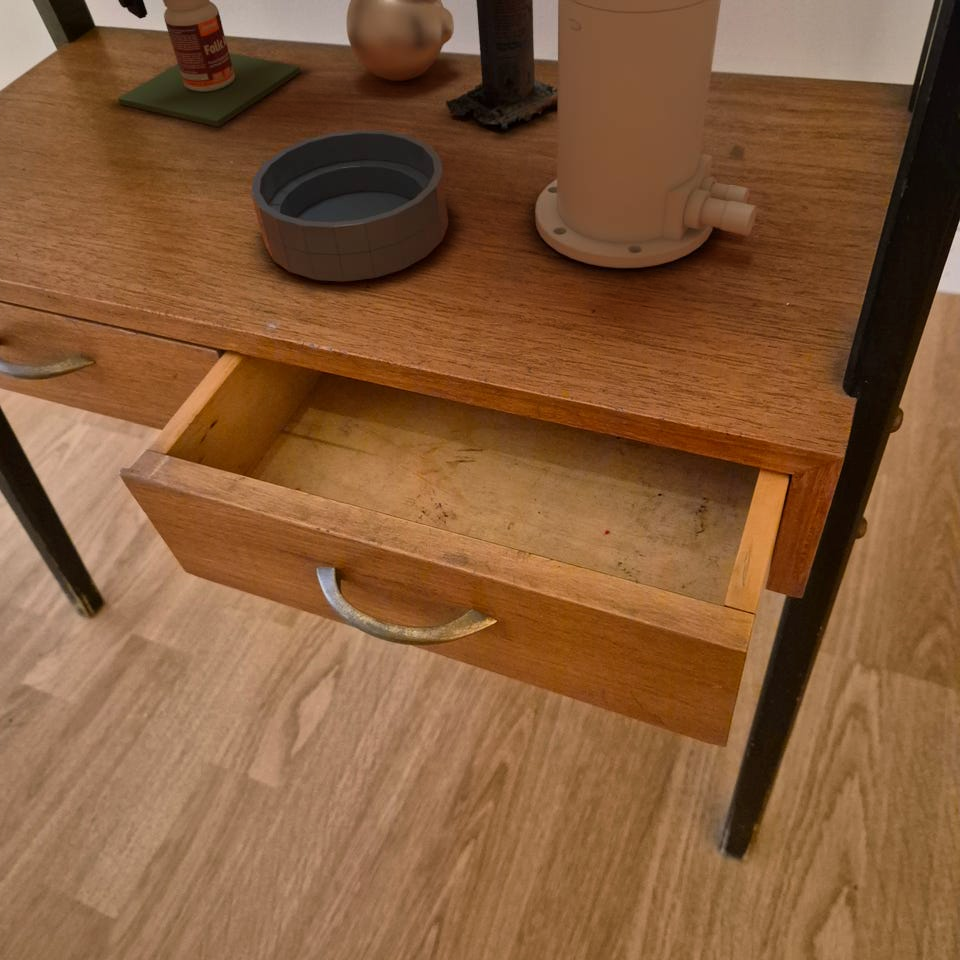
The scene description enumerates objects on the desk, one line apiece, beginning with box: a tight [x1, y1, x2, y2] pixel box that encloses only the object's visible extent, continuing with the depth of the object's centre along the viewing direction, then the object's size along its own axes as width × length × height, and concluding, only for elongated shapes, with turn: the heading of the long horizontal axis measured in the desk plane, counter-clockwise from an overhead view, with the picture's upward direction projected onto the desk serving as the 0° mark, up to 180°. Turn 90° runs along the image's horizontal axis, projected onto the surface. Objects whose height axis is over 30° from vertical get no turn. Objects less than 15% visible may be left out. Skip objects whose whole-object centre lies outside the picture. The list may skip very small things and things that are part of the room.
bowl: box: [250, 129, 449, 283], centre depth 62 cm, size 13×13×4 cm
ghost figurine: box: [345, 0, 455, 82], centre depth 78 cm, size 9×10×10 cm
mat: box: [117, 52, 301, 128], centre depth 82 cm, size 12×12×1 cm
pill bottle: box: [162, 0, 235, 92], centre depth 79 cm, size 5×5×8 cm
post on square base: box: [445, 0, 558, 132], centre depth 71 cm, size 9×8×12 cm
